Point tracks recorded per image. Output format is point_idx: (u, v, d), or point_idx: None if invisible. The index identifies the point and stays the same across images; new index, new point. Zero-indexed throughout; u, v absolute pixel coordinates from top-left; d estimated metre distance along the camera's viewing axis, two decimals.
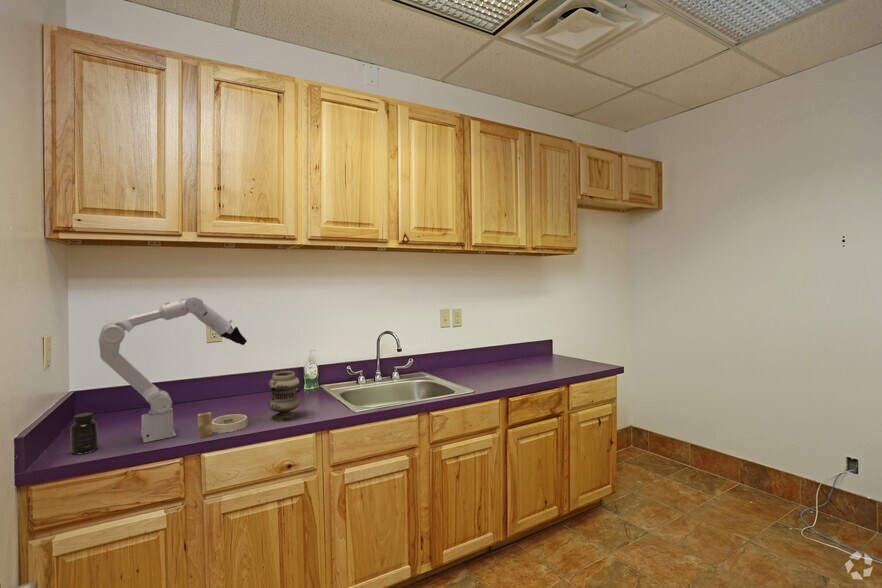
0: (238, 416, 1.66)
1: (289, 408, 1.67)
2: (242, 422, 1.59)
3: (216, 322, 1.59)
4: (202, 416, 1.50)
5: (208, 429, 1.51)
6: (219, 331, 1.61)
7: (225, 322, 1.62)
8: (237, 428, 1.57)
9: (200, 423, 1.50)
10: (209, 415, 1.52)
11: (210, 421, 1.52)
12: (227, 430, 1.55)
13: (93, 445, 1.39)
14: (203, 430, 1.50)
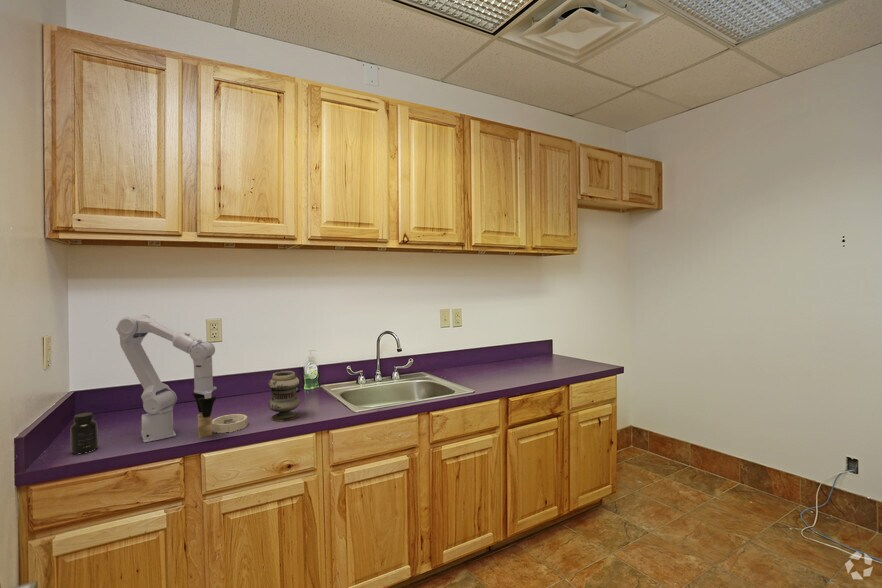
0: (238, 416, 1.66)
1: (289, 408, 1.67)
2: (242, 422, 1.59)
3: (204, 379, 1.49)
4: (202, 416, 1.50)
5: (208, 429, 1.51)
6: (198, 389, 1.48)
7: (210, 385, 1.51)
8: (237, 428, 1.57)
9: (200, 423, 1.50)
10: None
11: (210, 421, 1.52)
12: (227, 430, 1.55)
13: (93, 445, 1.39)
14: (203, 430, 1.50)
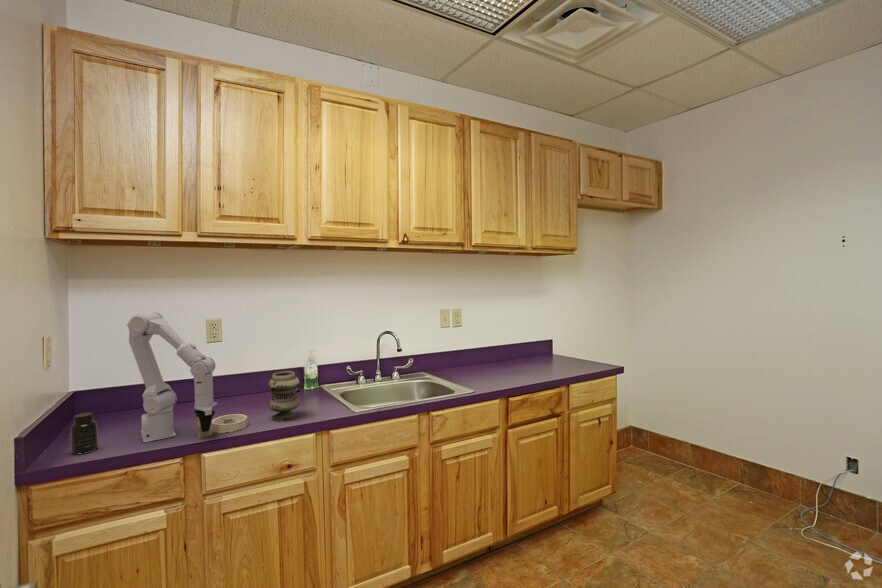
0: (238, 416, 1.66)
1: (289, 408, 1.67)
2: (242, 422, 1.59)
3: (205, 396, 1.49)
4: None
5: None
6: (198, 405, 1.49)
7: (211, 401, 1.51)
8: (237, 428, 1.57)
9: None
10: None
11: None
12: (227, 430, 1.55)
13: (93, 445, 1.39)
14: None
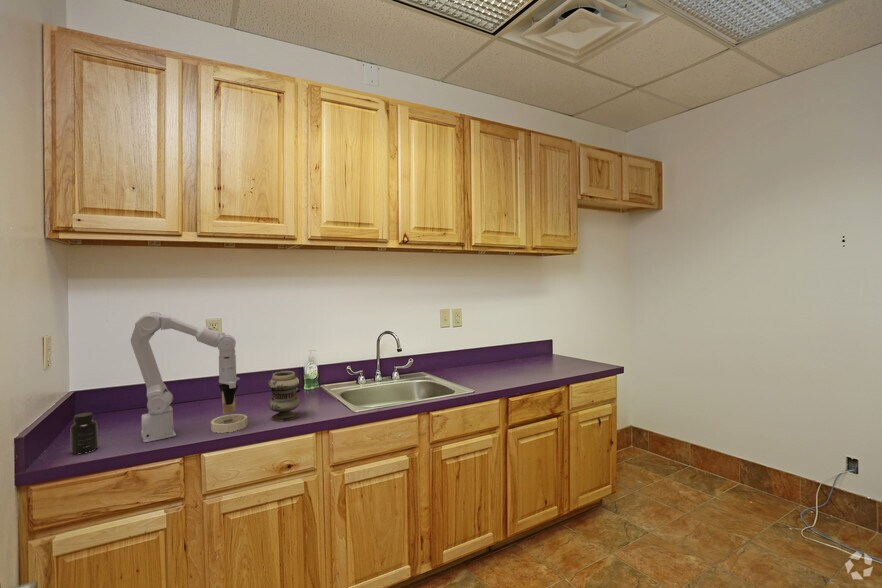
0: (238, 416, 1.66)
1: (289, 408, 1.67)
2: (242, 422, 1.59)
3: (228, 370, 1.57)
4: None
5: (231, 405, 1.60)
6: (223, 379, 1.57)
7: (234, 376, 1.59)
8: (237, 428, 1.57)
9: (224, 400, 1.58)
10: None
11: (234, 398, 1.60)
12: (227, 430, 1.55)
13: (93, 445, 1.39)
14: (227, 406, 1.59)
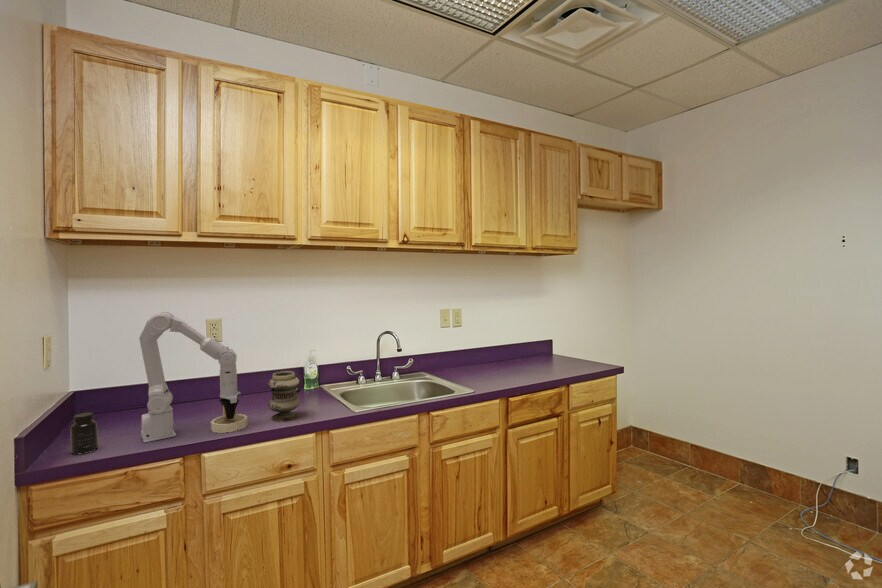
0: (238, 416, 1.66)
1: (289, 408, 1.67)
2: (242, 422, 1.59)
3: (229, 385, 1.58)
4: None
5: (232, 419, 1.60)
6: (224, 394, 1.57)
7: (235, 390, 1.60)
8: (237, 428, 1.57)
9: (225, 413, 1.59)
10: None
11: None
12: (227, 430, 1.55)
13: (93, 445, 1.39)
14: (228, 420, 1.59)
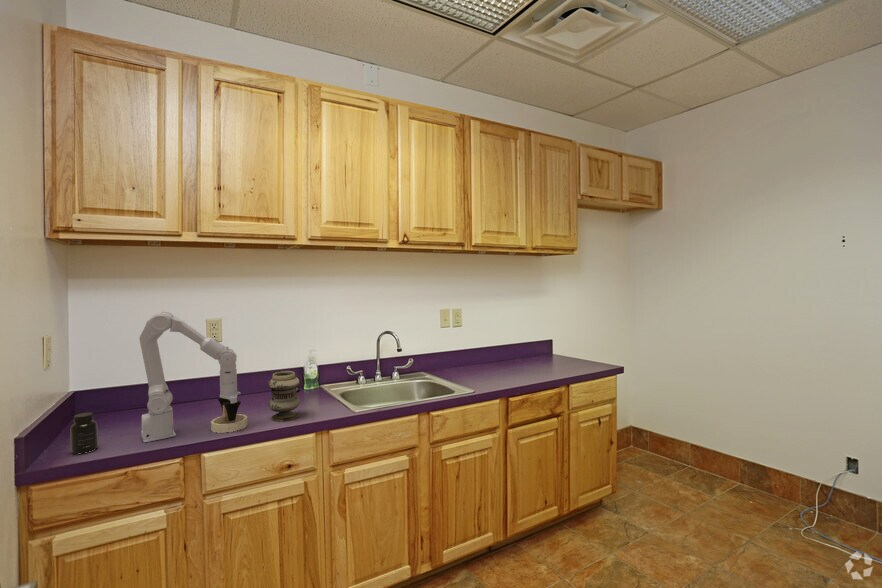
0: (238, 416, 1.66)
1: (289, 408, 1.67)
2: (242, 422, 1.59)
3: (229, 385, 1.58)
4: None
5: None
6: (224, 394, 1.57)
7: (235, 391, 1.60)
8: (237, 428, 1.57)
9: (225, 413, 1.59)
10: None
11: None
12: (227, 430, 1.55)
13: (93, 445, 1.39)
14: (228, 420, 1.59)
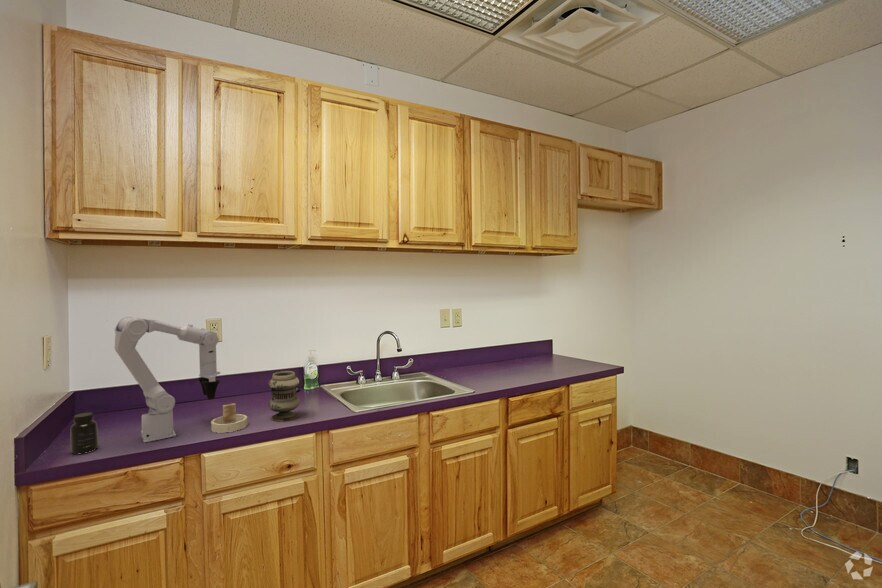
0: (238, 416, 1.66)
1: (289, 408, 1.67)
2: (242, 422, 1.59)
3: (209, 364, 1.62)
4: (227, 407, 1.59)
5: (232, 419, 1.60)
6: (203, 373, 1.61)
7: (214, 370, 1.64)
8: (237, 428, 1.57)
9: (225, 413, 1.59)
10: (233, 406, 1.60)
11: (234, 412, 1.61)
12: (227, 430, 1.55)
13: (93, 445, 1.39)
14: (228, 420, 1.59)
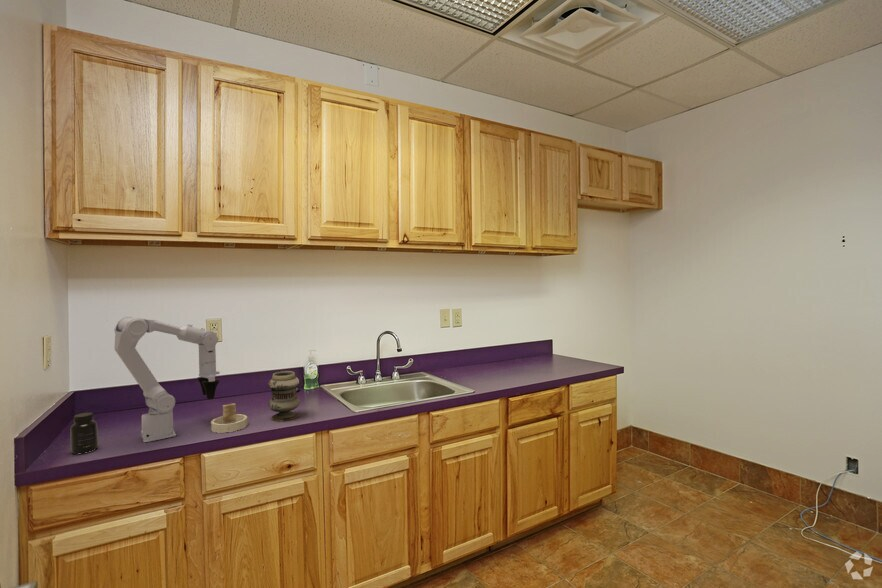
0: (238, 416, 1.66)
1: (289, 408, 1.67)
2: (242, 422, 1.59)
3: (208, 364, 1.62)
4: (227, 407, 1.59)
5: (232, 419, 1.60)
6: (202, 373, 1.62)
7: (214, 370, 1.64)
8: (237, 428, 1.57)
9: (225, 413, 1.59)
10: (233, 406, 1.60)
11: (234, 412, 1.61)
12: (227, 430, 1.55)
13: (93, 445, 1.39)
14: (228, 420, 1.59)
